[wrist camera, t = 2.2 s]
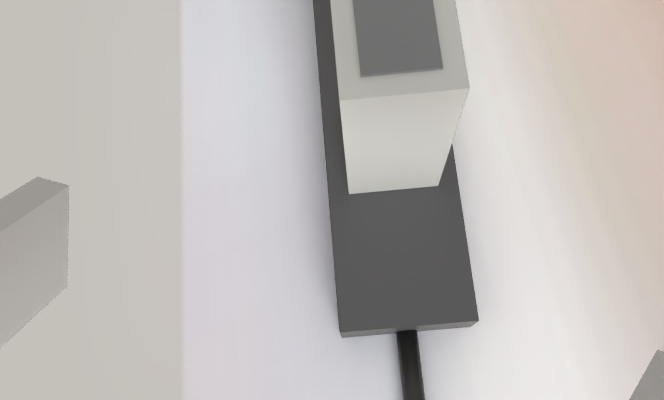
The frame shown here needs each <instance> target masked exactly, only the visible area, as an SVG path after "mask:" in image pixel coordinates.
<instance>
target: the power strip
mask: <svg viewBox="0 0 664 400" xmlns="http://www.w3.org/2000/svg"><path fill="white" fill-rule="evenodd" d="M313 6H314V19H315V31H316V44H317V56H318V69H319V81H320V94H321V106H322V119H323V131H324V144H325V156H326V169H327V181H328V194H329V206H330V219H331V231H332V244H333V256H334V269H335V281H336V294H337V306H338V319H339V331H340V335H341V337H342V338H344V337H356V336H368V335H379V334H391V333H396V334H397V343H398V352H399V362H400V371H401V380H402V389H403V398H404V400H425V396H424V388H423V379H422V371H421V362H420V354H419V346H418V337H417V331H426V330H438V329H450V328H462V327H471V326H472V325H474V324H475V323H476V322H478V321H479V319H478V312H477V305H476V299H475V292H474V285H473V279H472V272H471V266H470V259H469V252H468V246H467V239H466V232H465V226H464V219H463V212H462V206H461V199H460V193H459V186H458V179H457V173H456V166H455V159H454V153H453V146H452V144H451V147H450V150H449V154H448V157H447V160H446V163H445V166H444V169H443V172H442V175H441V178H440V181H439V185H438V186H432V187H421V188H411V189H400V190H389V191H378V192H367V193H356V194H349V191H348V181H347V171H346V161H345V152H344V142H343V132H342V122H341V112H340V102H339V92H338V81H337V69H336V58H335V47H334V36H333V25H332V14H331V3H330V0H313Z"/></svg>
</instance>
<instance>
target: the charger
mask: <svg viewBox="0 0 664 400" xmlns="http://www.w3.org/2000/svg"><path fill="white" fill-rule="evenodd" d="M330 3H331V14H332V25H333V36H334V47H335V58H336V69H337V81H338V92H339V102H340V112H341V122H342V132H343V142H344V152H345V161H346V171H347V181H348V191H349V194H356V193H367V192H378V191H389V190H400V189H411V188H421V187H432V186H438V185H439V181H440V178H441V175H442V172H443V169H444V166H445V163H446V160H447V157H448V154H449V150H450V147H451V144H452V141H453V138H454V135H455V132H456V129H457V126H458V123H459V119H460V116H461V113H462V110H463V107H464V104H465V101H466V98H467V95H468V92H469V82H468V75H467V69H466V63H465V57H464V51H463V45H462V39H461V33H460V27H459V21H458V15H457V9H456V3H455V0H330Z"/></svg>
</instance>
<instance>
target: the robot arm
mask: <svg viewBox="0 0 664 400" xmlns="http://www.w3.org/2000/svg"><path fill="white" fill-rule="evenodd" d="M68 221H69V186H68V185H65V184H62V183H58V182H54V181H51V180H47V179H44V178H40V177H36V178H35V179H33V180H31V181H30V182H28V183H26V184H25V185H23V186H21V187H20V188H18V189H16V190H15V191H13V192H12V193H10V194H8V195H6V196H5V197H3V198H2V199H0V348H1V347H2V346H3V345H5V343H7V342H8V341H9V340H10V339H11V338H12V337H13V336H14V335H15V334H16V333H17V332H18V331H19V330H20V329H22V328H23V327H24V326H25V325H26V324H27V323H28V322H29V321H30V320H31V319H32V318H33V317H34V316H36V314H38V313H39V312H40V311H41V310H42V309H43V308H44V307H45V306H46V305H48V303H50V302H51V301H52V300H53V299H54V298H55V297H56V296H57V295H58V294H59V293H60V292H61V291H63V290H64V289H65V288H66V287H67V277H68V223H69V222H68ZM629 400H664V352H663V351H659V350H657V352H656V353H655V355H654V357H653V359H652V360H651V362H650V364H649V366H648V367H647V369H646V371H645V373H644V375H643V376H642V378H641V380H640V382H639V383H638V385H637V387H636V389H635V391H634V392H633V394H632V396H631V398H630V399H629Z"/></svg>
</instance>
